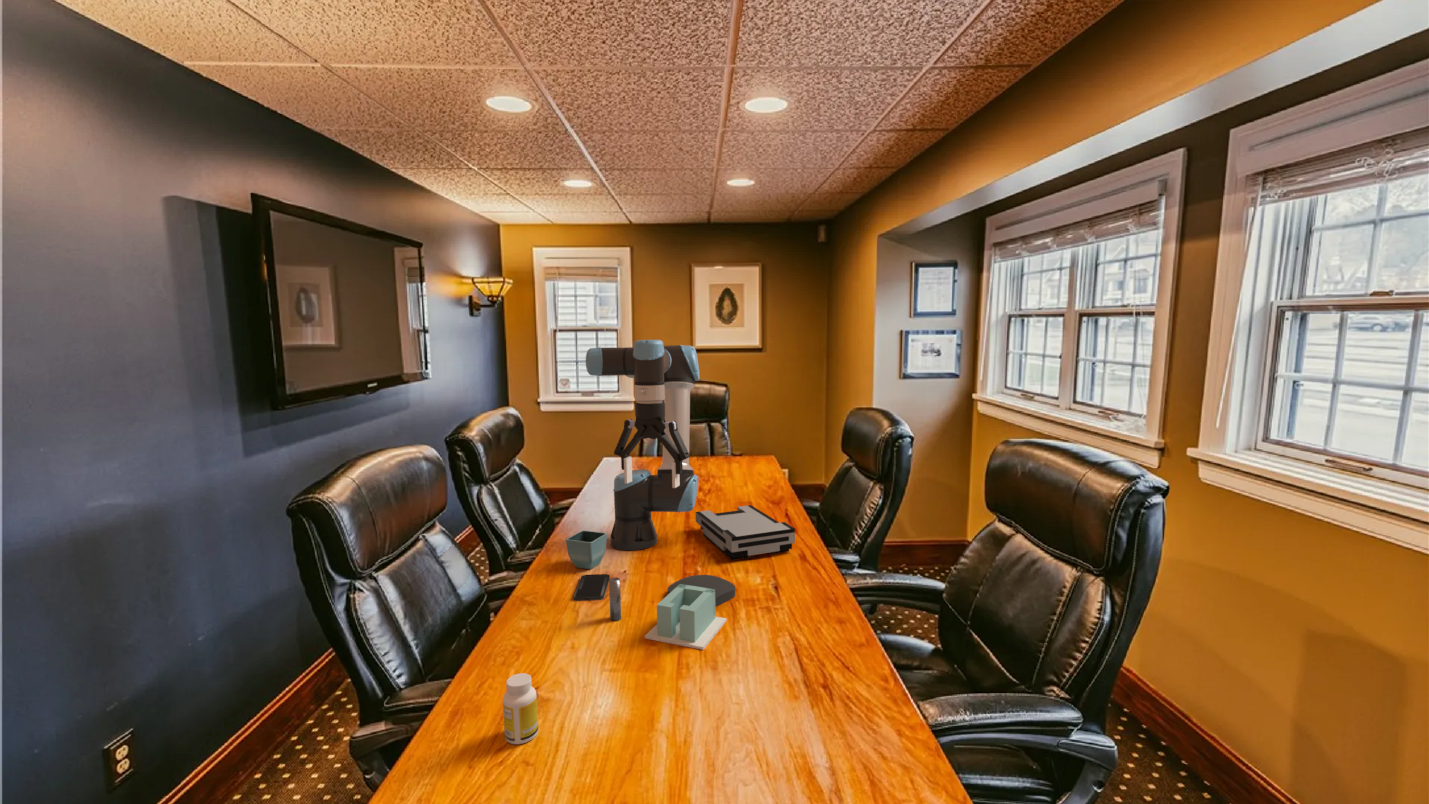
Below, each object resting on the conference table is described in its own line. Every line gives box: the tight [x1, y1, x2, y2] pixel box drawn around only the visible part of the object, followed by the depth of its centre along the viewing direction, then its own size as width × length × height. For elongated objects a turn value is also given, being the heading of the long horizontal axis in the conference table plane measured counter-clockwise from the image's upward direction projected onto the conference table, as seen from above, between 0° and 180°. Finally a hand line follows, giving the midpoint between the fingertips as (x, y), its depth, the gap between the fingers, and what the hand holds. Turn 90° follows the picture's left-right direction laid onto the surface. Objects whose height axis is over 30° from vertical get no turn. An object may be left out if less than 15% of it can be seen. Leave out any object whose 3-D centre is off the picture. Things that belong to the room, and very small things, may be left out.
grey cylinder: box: [608, 577, 622, 622], centre depth 142 cm, size 3×3×10 cm
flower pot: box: [565, 530, 608, 570], centre depth 175 cm, size 9×9×9 cm
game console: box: [694, 504, 796, 561], centre depth 195 cm, size 21×32×8 cm, turn 21°
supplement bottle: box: [502, 672, 539, 745], centre depth 101 cm, size 5×5×10 cm
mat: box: [644, 615, 728, 651], centre depth 137 cm, size 14×14×1 cm
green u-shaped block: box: [656, 584, 716, 642], centre depth 137 cm, size 12×9×7 cm
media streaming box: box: [667, 574, 736, 608], centre depth 155 cm, size 15×15×3 cm
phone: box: [572, 573, 611, 602], centre depth 160 cm, size 8×1×15 cm
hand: (651, 484), depth 154 cm, fingers open, 13 cm apart
